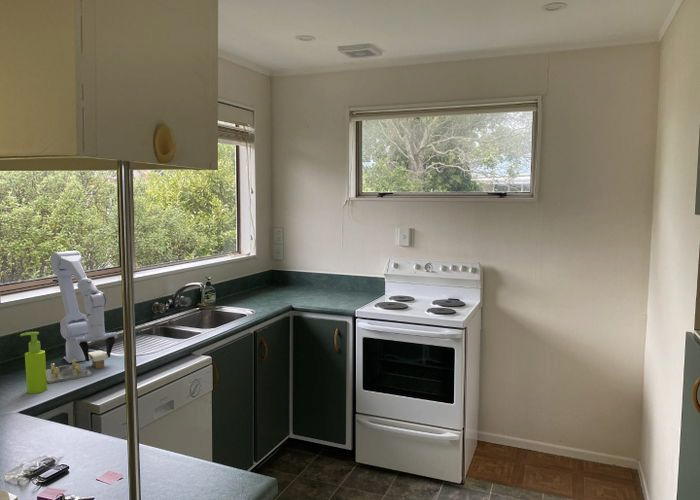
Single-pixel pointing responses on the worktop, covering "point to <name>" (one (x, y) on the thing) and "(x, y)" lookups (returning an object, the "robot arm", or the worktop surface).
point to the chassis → (66, 372)
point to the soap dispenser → (35, 365)
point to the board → (97, 355)
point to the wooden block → (98, 364)
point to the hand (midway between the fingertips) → (97, 358)
